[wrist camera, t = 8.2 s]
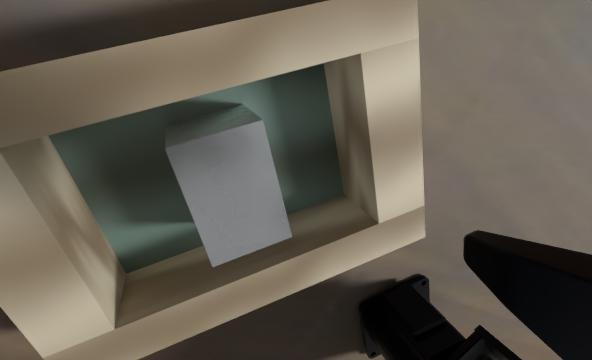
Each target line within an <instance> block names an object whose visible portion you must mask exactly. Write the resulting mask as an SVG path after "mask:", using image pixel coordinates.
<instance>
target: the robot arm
mask: <svg viewBox="0 0 592 360" xmlns="http://www.w3.org/2000/svg"><path fill="white" fill-rule="evenodd" d="M463 256H464V260H465V262H466V264H467V265H468V266H469V268H470V269H471V270H472V271H473V272H474V273H475V274H476V275H477V276H478V277H479V279H480V280H481V281H482V282H483V283H484V284H485V285H486V286H487V287H488V288H489V289H490V291H491V292H492V293H493V294H494V295H495V296H496V297H497V298H498V299H499V300H500V301H501V302H502V304H503V305H504V306H505V307H506V308H507V309H508V310H510V311H511V312H512V313H513V314H514V315H515V316H516V317H517V318H518V319H519V320H520V321H521V322H522V323H524V324H525V325H526V326H527V327H528V328H529V329H530V330H531V331H532V332H533V333H534V334H535V335H537V336H538V337H539V338H540V339H541V340H542V341H543V342H544V343H545V344H546V345H547V346H549V347H550V348H551V349H552V350H553V351H554V352H555V353H556V354H557V355H558V356H559V357H561V358H562V359H563V360H592V255H591V254H586V253H582V252H577V251H572V250H568V249H563V248H558V247H554V246H549V245H545V244H540V243H535V242H531V241H526V240H521V239H517V238H512V237H508V236H503V235H498V234H494V233H489V232H484V231H479V230H477V231H474V232H471V233H469V234H467V235H465V237H464V252H463ZM359 313H360V320H361V326H362V332H363V338H364V344H365V350H366V354H367V356H368V357H369V358H374V357H376V356H378V355H380V354H382V356H383V357H384V359H385V360H522V359H520V358H519V357H518V356H517V355H516V354H514V353H513V352H512V351H511V350H509V349H508V348H507V347H506V346H505V345H503V344H502V343H501V342H500V341H499V340H497V339H496V338H495V337H494V336H493V335H491V334H490V333H489V332H488V331H487V330H485V329H484V328H483V327H482V326H481V325H479V326H478V327H476V328H475V329H474V332H473V333H472V334H471V335H470V336H469V337H468V338H467V339H465V338H464V337H463V336H462V335H461V334H460V333H459V332H458V331H457V330H456V329H455V328H454V327H453V326H452V325H451V324H450V323H449V322H448V321H447V320H446V318H445V317H444V316H443V315H442V314H441V313H440V312H439V311H438V310H437V309H436V308H435V307H434V306H433V305H432V304H431V303H430V300H429V279H428V278H426V277H425V276H424V275H422V276H419V277H417V278H415V279H412V280H410V281H408V282H406V283H404V284H402V285H399V286H397V287H395V288H393V289H391V290H388V291H386V292H384V293H382V294H380V295H377V296H375V297H373V298H371V299H369V300H366V301H364V302H362V303H361V304H360V306H359Z"/></svg>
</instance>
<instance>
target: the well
mask: <svg viewBox="0 0 592 360" xmlns="http://www.w3.org/2000/svg"><path fill="white" fill-rule="evenodd" d="M239 104H244V105H245V106H246V107H247V108H249V109H250V110H251V111H252V112H254V113H255V114H256V115H257V116H259V117H260V118H261V119H262V120H263V122H264V126H265V130H266V134H267V138H268V142H269V146H270V150H271V154H272V158H273V162H274V166H275V170H276V174H277V178H278V182H279V186H280V190H281V194H282V198H283V202H284V206H285V210H286V214H287V218H288V222H289V226H290V230H291V234H292V237H291V238H288V239H286V240H283V241H280V242H278V243H275V244H272V245H270V246H267V247H265V248H262V249H259V250H257V251H254V252H252V253H249V254H246V255H244V256H241V257H238V258H236V259H233V260H231V261H228V262H225V263H223V264H220V265H218V266H215V267H212V264H211V262H210V259H209V257H208V254H207V252H206V249H205V247H204V245H203V242H202V240H201V237H200V235H199V232H198V230H197V227H196V225H195V222H194V220H193V217H192V215H191V212H190V210H189V207H188V205H187V202H186V200H185V197H184V195H183V192H182V190H181V187H180V185H179V182H178V180H177V178H176V175H175V173H174V170H173V168H172V165H171V163H170V160H169V158H168V155H167V153H166V150H165V139H166V127H167V124H170V123H174V122H177V121H181V120H184V119H188V118H192V117H195V116H199V115H203V114H206V113H210V112H214V111H217V110H221V109H225V108H228V107H232V106H235V105H239ZM424 237H425V210H424V181H423V151H422V122H421V92H420V62H419V33H418V3H417V0H328V1H324V2H319V3H315V4H310V5H305V6H301V7H296V8H292V9H287V10H282V11H278V12H273V13H269V14H264V15H259V16H255V17H250V18H245V19H241V20H236V21H232V22H227V23H222V24H218V25H213V26H209V27H204V28H199V29H195V30H190V31H186V32H181V33H176V34H172V35H167V36H162V37H158V38H153V39H149V40H144V41H139V42H135V43H130V44H126V45H121V46H116V47H112V48H107V49H103V50H98V51H93V52H89V53H84V54H79V55H75V56H70V57H66V58H61V59H56V60H52V61H47V62H43V63H38V64H33V65H29V66H24V67H20V68H15V69H10V70H6V71H1V72H0V307H1V308H2V309H3V311H4V312H5V313H6V314H7V315H8V317H9V318H10V319H11V320H12V321H13V323H14V324H15V325H16V326H17V327H18V329H19V330H20V331H21V332H22V333H23V335H24V336H25V337H26V338H27V340H28V341H29V342H30V343H31V344H32V346H33V347H34V348H35V349H36V350H37V352H38V353H39V354H40V355H41V356H42V358H43V359H44V360H138V359H140V358H143V357H145V356H147V355H150V354H152V353H154V352H157V351H159V350H162V349H164V348H166V347H169V346H171V345H173V344H176V343H178V342H180V341H183V340H185V339H187V338H190V337H192V336H194V335H197V334H199V333H201V332H204V331H206V330H208V329H211V328H213V327H216V326H218V325H220V324H223V323H225V322H227V321H230V320H232V319H234V318H237V317H239V316H241V315H244V314H246V313H248V312H251V311H253V310H255V309H258V308H260V307H262V306H265V305H267V304H270V303H272V302H274V301H277V300H279V299H281V298H284V297H286V296H288V295H291V294H293V293H295V292H298V291H300V290H302V289H305V288H307V287H309V286H312V285H314V284H316V283H319V282H321V281H324V280H326V279H328V278H331V277H333V276H335V275H338V274H340V273H342V272H345V271H347V270H349V269H352V268H354V267H356V266H359V265H361V264H363V263H366V262H368V261H370V260H373V259H375V258H378V257H380V256H382V255H385V254H387V253H389V252H392V251H394V250H396V249H399V248H401V247H403V246H406V245H408V244H410V243H413V242H415V241H417V240H420V239H422V238H424Z"/></svg>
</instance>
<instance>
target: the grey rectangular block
mask: <svg viewBox="0 0 592 360" xmlns="http://www.w3.org/2000/svg"><path fill="white" fill-rule="evenodd" d="M165 150H166V153H167V155H168V158H169V160H170V163H171V165H172V168H173V170H174V173H175V175H176V178H177V180H178V182H179V185H180V187H181V190H182V192H183V195H184V197H185V200H186V202H187V205H188V207H189V210H190V212H191V215H192V217H193V220H194V222H195V225H196V227H197V230H198V232H199V235H200V237H201V240H202V242H203V245H204V247H205V249H206V252H207V254H208V257H209V259H210V262H211V264H212V267H215V266H218V265H220V264H223V263H225V262H228V261H231V260H233V259H236V258H238V257H241V256H244V255H246V254H249V253H252V252H254V251H257V250H259V249H262V248H265V247H267V246H270V245H272V244H275V243H278V242H280V241H283V240H286V239H288V238H291V237H292V234H291V230H290V226H289V222H288V218H287V214H286V210H285V206H284V202H283V198H282V194H281V190H280V186H279V182H278V178H277V174H276V170H275V166H274V162H273V158H272V154H271V150H270V146H269V142H268V138H267V134H266V130H265V126H264V122H263V120H262V119H261V118H260V117H259V116H257V115H256V114H255V113H254V112H252V111H251V110H250V109H249V108H247V107H246V106H245V105H244V104H239V105H235V106H232V107H228V108H225V109H221V110H217V111H214V112H210V113H206V114H203V115H199V116H195V117H192V118H188V119H184V120H181V121H177V122H174V123H170V124H167V127H166V139H165Z"/></svg>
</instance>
